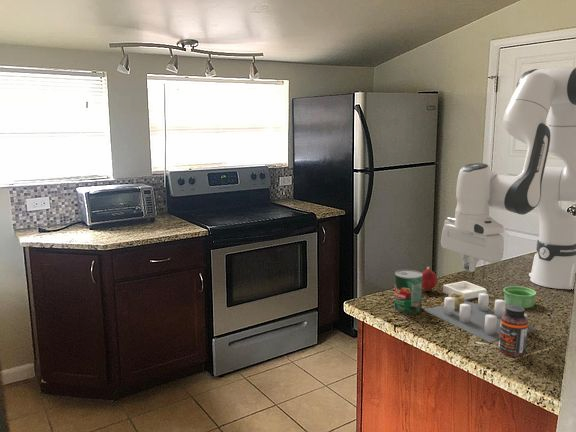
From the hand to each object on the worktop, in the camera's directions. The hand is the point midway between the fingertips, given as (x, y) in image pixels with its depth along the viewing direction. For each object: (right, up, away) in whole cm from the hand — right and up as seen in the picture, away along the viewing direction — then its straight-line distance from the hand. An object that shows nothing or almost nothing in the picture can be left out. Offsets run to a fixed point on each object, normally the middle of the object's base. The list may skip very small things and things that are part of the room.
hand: (468, 270), depth 147 cm
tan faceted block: (-2, -12, +6) cm, 13 cm away
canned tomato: (-16, -12, +6) cm, 21 cm away
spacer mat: (+1, -14, -3) cm, 14 cm away
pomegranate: (-6, -9, +21) cm, 24 cm away
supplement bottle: (+2, -18, -23) cm, 29 cm away
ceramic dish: (+5, -10, +18) cm, 21 cm away
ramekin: (+18, -11, +9) cm, 23 cm away
